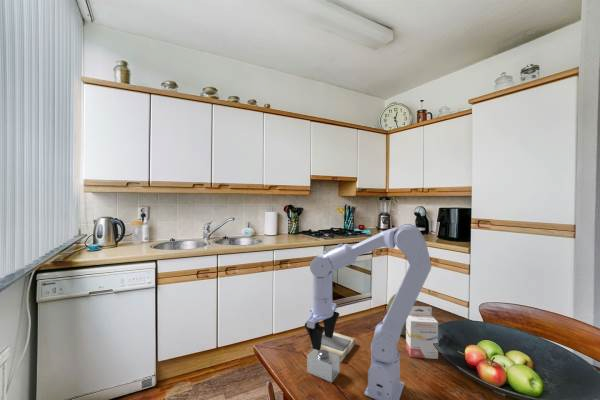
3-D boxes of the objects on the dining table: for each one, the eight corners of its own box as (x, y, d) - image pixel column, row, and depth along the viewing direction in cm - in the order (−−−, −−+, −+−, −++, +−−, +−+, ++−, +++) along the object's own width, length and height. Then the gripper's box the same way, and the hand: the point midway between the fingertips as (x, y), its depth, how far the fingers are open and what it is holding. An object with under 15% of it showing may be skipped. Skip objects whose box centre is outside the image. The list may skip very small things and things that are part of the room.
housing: (331, 383, 70) (331, 361, 70) (307, 372, 75) (307, 352, 75) (339, 373, 75) (339, 353, 75) (315, 363, 79) (315, 344, 79)
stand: (341, 362, 79) (340, 354, 79) (310, 351, 85) (310, 344, 85) (354, 344, 89) (354, 337, 89) (326, 335, 95) (326, 329, 95)
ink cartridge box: (410, 358, 81) (410, 311, 81) (405, 349, 86) (405, 305, 86) (439, 359, 80) (438, 312, 81) (432, 350, 85) (431, 306, 86)
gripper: (322, 286, 83) (322, 328, 83) (297, 301, 71) (297, 350, 71) (342, 290, 80) (342, 334, 79) (319, 306, 67) (320, 358, 67)
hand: (322, 342), depth 75 cm, fingers open, 7 cm apart
